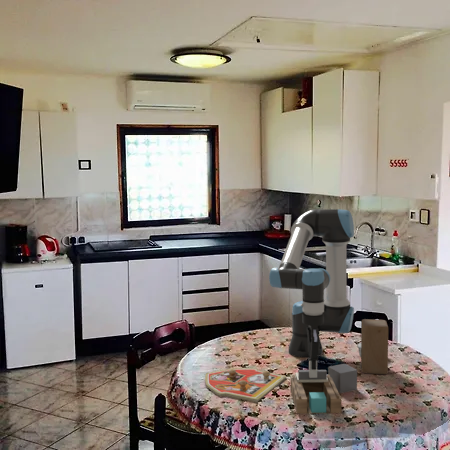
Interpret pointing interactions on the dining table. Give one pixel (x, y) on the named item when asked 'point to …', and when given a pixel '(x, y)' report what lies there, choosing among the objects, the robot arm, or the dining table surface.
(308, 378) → the lid
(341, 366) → the stand
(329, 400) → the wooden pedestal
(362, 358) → the wooden block
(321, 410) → the block
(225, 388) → the knob puzzle
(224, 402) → the dining table surface
